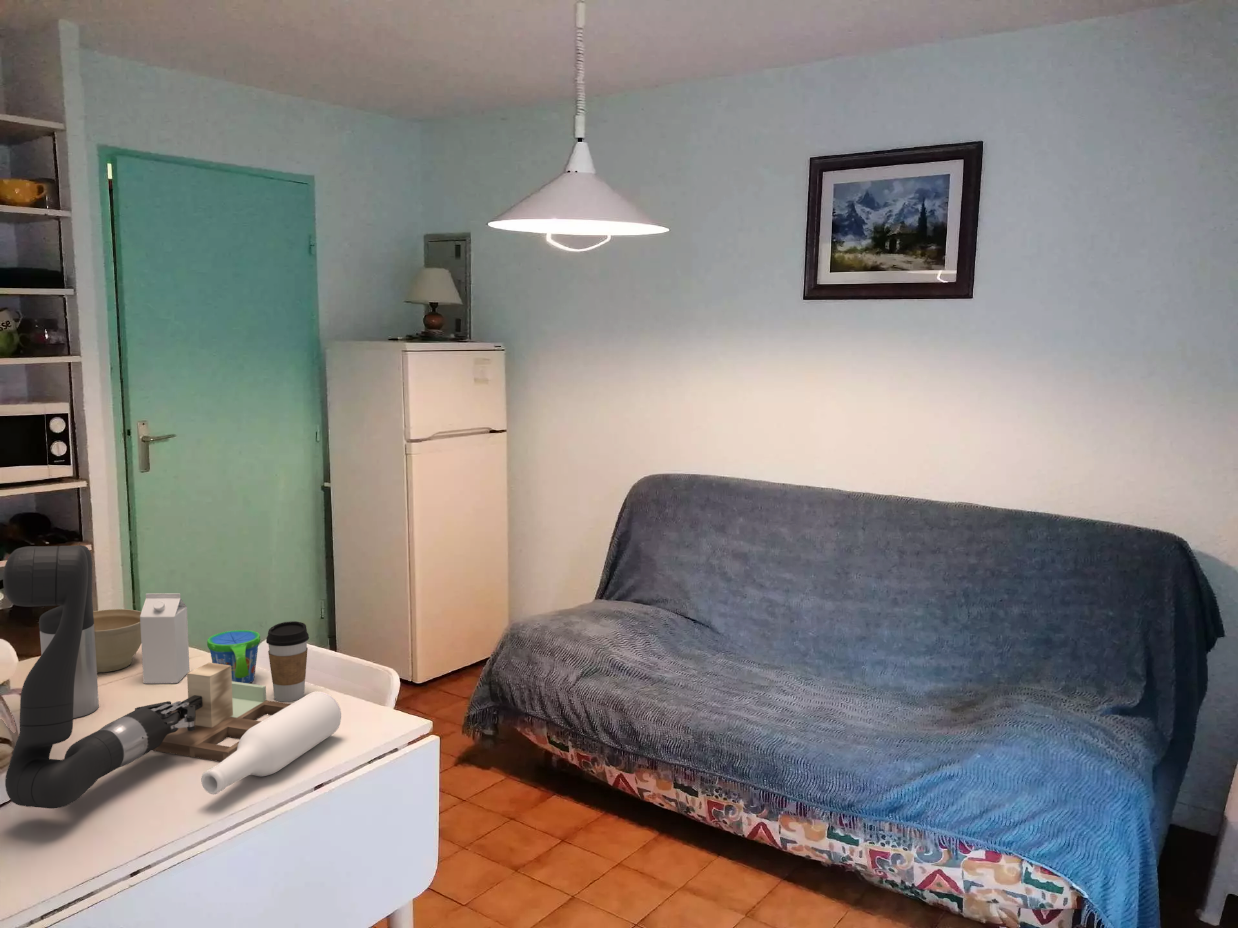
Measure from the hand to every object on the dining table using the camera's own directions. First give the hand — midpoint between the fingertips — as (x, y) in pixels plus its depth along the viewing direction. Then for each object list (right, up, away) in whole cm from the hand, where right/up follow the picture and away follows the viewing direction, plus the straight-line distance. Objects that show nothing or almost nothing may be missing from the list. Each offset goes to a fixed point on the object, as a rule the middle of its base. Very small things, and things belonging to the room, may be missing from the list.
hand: (198, 700), depth 175 cm
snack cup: (-4, -3, +28) cm, 28 cm away
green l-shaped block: (+2, -6, +10) cm, 12 cm away
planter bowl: (-36, -1, +35) cm, 51 cm away
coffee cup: (+10, -5, +21) cm, 23 cm away
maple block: (+1, -5, +4) cm, 6 cm away
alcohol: (+23, -3, +3) cm, 23 cm away
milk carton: (-20, -3, +29) cm, 35 cm away
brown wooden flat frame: (+5, -7, +3) cm, 9 cm away
